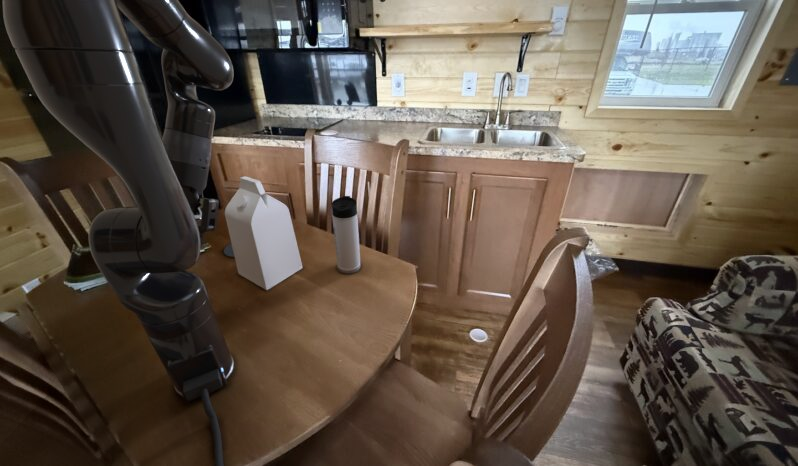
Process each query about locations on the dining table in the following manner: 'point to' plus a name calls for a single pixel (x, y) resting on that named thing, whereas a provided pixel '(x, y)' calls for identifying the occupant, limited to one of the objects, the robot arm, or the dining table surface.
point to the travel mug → (346, 234)
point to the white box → (261, 235)
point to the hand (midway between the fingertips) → (172, 245)
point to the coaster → (229, 251)
